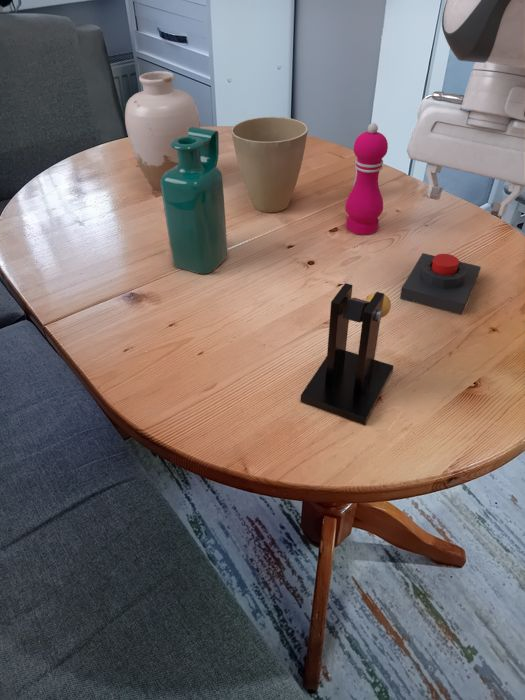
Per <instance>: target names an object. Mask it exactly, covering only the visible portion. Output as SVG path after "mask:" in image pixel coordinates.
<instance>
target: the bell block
mask: <svg viewBox="0 0 525 700" xmlns="http://www.w3.org/2000/svg"><path fill="white" fill-rule="evenodd" d="M435 256H436V255H432V254H428V253H423V252H422V253H421V255H420V257H419V258H418V260H417V261H416V263H415V265H414V267H413V268H412V270H411V272H409V275H408V277H406V280H405V281H404V283H403V285H402V286H401V290H400V296H399V299H400V300H404V301H408V302H412V303H416V304H419V305H423V306H427V307H431V308H434V309H438V310H442V311H445V312H448V313H452V314H456V315H460V316H462V315H463V314H464V311H465V309H466V306H467V305H468V302H469V299H470V298H471V295H472V293H473V290H474V289H475V285H476V283H477V281H478V278H479V275H480V272H481V268H482V266H480V265H476V264H472V263H467V262H463V261H460V260H459V265H458V269H457V272H456V273H455V274H453V275H442V274H438V273H436V272H434V271H433V270H432V263H433V258H434V257H435Z"/></svg>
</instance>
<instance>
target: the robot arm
mask: <svg viewBox="0 0 525 700" xmlns="http://www.w3.org/2000/svg"><path fill="white" fill-rule="evenodd" d="M441 17H442V18H441V28H442V32H443V35H444V38H445V41H446V42H447V45H448V47H449V48H450V50H451V52H452V53H453V55H454V56H455V57H456V59H457V60H458V61H460V62H470V63H471V62H472V63H474V64H473V65H472V69H471V72H470V76H469V78H468V82H467V85H466V88H465V92H464V95H463V94H459V93H458V94H457V93H446V92H444V91H437V90H436V91H434V92H433V93H429V94H428V95H426V96H425V97H423V99H422V100H421V102H420V104H419V108H418V111H417V121H416V123H415V125H414V128H413V131H412V133H411V135H410V138H409V141H408V144H407V148H406V153H407V156H408V159H410V160H413V161H417V162H421V163H425V164H427V166H426V169H425V174H426V179H427V183H428V185H429V187H428V189H427V190H428V191H427V194H426V198H428V199H432V200H436V201H437V200H440V199H441V196H442V192H443V190H444V187H443V186H441V185H439V181H438V175H437V174H440V173H441V171H442V169H443V168H447V169H452V170H456V171H461V172H464V173H469V174H473V175H477V176H482V177H485V178H490V179H495V180H499V181H503V182H508V183H509V186H508V189H507V191H508V192H509V193H510V194H509V195H507V196H506V197H505V198H504V199H503V200H502V201H499V200H497V201H494V203H493V206H492V209H491V211H490V215H492V216H495V217H499V218H504V217H505V215H506V212H507V210H508V207H509V205H510V204H511V203H513V201H515V200H516V199H517V198H518V197H519V196H520V195H521V194H523V191H524V188H525V0H445V3H444V7H443V11H442V16H441ZM442 167H443V168H442Z"/></svg>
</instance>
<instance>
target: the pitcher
mask: <svg viewBox="0 0 525 700" xmlns="http://www.w3.org/2000/svg"><path fill="white" fill-rule="evenodd" d="M219 141H220V140H219V131H218V130H215V129H209V128H203V127H202V128H201V127H200V128H196V127H190V128H189V130H188V136H184V137H179V138H176V139H174V140H173V141H172V142H171V144H170V145H171V147H172V148H173V149H175V150H177V156H178V165H176V166H175V167H173V168H172V169H170V170H168V171H167V172H165V173H164V174H163V176H162V178H161V190H162V191H161V196H162V203H163V210H164V216H165V224H166V229H167V235H168V242H169V248H170V256H171V262H172V265H173V266H174V267H176V268H178V269H181V270H185V271H189V272H193V273H197V274H201V275H207V274H209V273H212V272H214V271H215V270H216V269H217V268H218V267H219V266H221V264H222V263H223V262H224V261H225V260H226V259H227V258H228V255H229V250H228V239H227V223H226V222H227V221H226V209H225V208H226V207H225V195H224V183H223V182H224V180H223V173H222V172H221V169H220V168H218V167H217V166H218V162H219V153H220V150H219V146H220V144H219Z"/></svg>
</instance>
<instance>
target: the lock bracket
mask: <svg viewBox="0 0 525 700" xmlns="http://www.w3.org/2000/svg"><path fill="white" fill-rule="evenodd" d="M353 286H354V285H353V284H350V283H347V282H346V283H344V284H343V285H342V287H340V290H339V291H338V292H337V293H336V295H335V296H334V298H333V299H332V300H331V301H330V313H329V324H328V325H329V326H328V337H327V338H328V340H327V353H326V356H325V358H324V360H323V361H322V363H321V364H320V366H319V367H318V369H317V370H316V372H315V373H314V374H313V376H312V378H311V379H310V380H309V382H308V383H307V385H306V387H305V388H304V390H303V391H302V392H301V393H300V400H299V401H300V402H301V404H305V405H308V406H309V407H312V408H316V409H318V410H321V411H324V412H327V413H329V414H331V415H335V416H338V417H340V418H343V419H345V420H349V421H351V422H355V423H357V424H359V425H362V426H366V425H367V423H368V421H369V419H370V417H371V415H372V414H373V411H374V410H375V407H376V405H377V403H378V402H379V399H380V397H381V396H382V394H383V392H384V391H385V388H386V386H387V384H388V383H389V380H390V378H391V376H392V374H393V372H394V367H395V365H394V364H391V363H386V362H384V361H381V360H377V359H375V358H376V351H377V344H378V337H379V330H380V324H381V320H382V318H381V317H382V313H383V312H382V306H383V299H384V294H385V293H384V292H380V291H376V292H374V293H375V295H374V296H373V298H372V299H371V301H370V302H369V304H368V305H367V307H366V308H365V310H364V313H363V321H362V322H361V329H360V335H359V336H360V337H359V345H358V352H357V353H356V352H352V351H349V350H347V342H348V332H349V323H350V320H349V319H345V318H343V313H344V309H345V306H346V302H347V299H348V298H352V295H353Z"/></svg>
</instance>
